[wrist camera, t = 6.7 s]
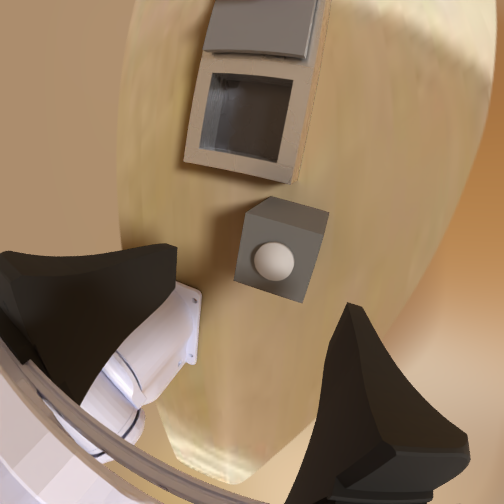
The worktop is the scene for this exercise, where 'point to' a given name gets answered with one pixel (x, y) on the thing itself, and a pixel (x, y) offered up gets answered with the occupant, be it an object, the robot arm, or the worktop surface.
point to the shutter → (261, 27)
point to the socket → (256, 108)
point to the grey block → (280, 247)
